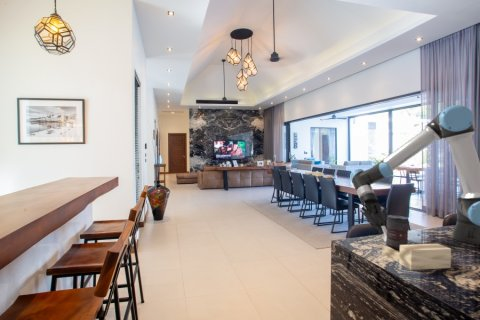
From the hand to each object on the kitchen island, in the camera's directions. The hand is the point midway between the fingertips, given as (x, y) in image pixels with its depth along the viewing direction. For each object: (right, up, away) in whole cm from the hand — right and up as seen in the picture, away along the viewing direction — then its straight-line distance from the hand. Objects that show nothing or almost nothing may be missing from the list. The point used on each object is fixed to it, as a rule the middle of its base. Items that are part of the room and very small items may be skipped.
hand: (387, 240), depth 123 cm
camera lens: (+1, -4, -5) cm, 6 cm away
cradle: (+3, -4, -13) cm, 14 cm away
